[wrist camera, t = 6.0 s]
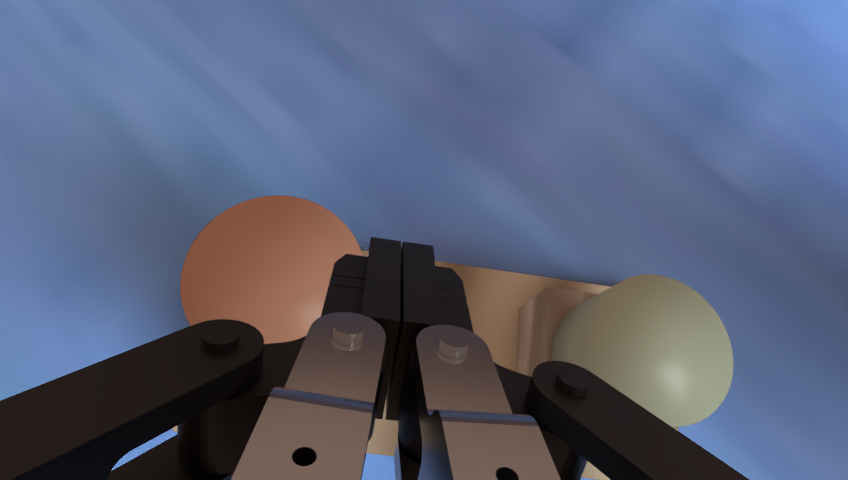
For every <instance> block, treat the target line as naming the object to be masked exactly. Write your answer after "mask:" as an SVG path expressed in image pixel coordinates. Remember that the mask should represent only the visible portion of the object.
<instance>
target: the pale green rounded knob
mask: <svg viewBox="0 0 848 480" xmlns="http://www.w3.org/2000/svg"><path fill="white" fill-rule="evenodd" d="M552 361H563V362H568V363H572V364H575V365H578V366H580V367H582V368H584V369H587V370H588V371H590V372H592V373H593V374H595V375H596V376H598V377H599V378H601V379H602V380H603V381H605V382H606V383H608V384H609V385H611V386H612V387H614V388H615V389H617V390H618V391H620V392H621V393H623V394H624V395H626V396H627V397H628V398H630V399H631V400H633V401H634V402H636V403H637V404H639V405H640V406H642V407H643V408H645V409H646V410H648V411H649V412H651V413H652V414H653V415H655V416H656V417H658V418H659V419H661V420H662V421H664V422H665V423H667V424H668V425H670V426H671V427H679V426H687V425H691V424H695V423H697V422H699V421H702V420H704V419H705V418H707V417H708V416H710V415H711V414H712V413H713V412H714V411H715V410H716V409H717V408H718V407H719V406H720V405H721V403H722V402H723V400H724V399H725V397H726V395H727V393H728V390H729V388H730V385H731V381H732V376H733V353H732V347H731V343H730V340H729V336H728V334H727V331H726V329H725V327H724V325H723V323H722V321H721V319H720V318H719V316H718V315H717V313H716V312H715V310H714V309H713V308H712V306H711V305H710V304H709V303H708V302H707V301H706V300H705V299H704V298H703V297H702V296H701V295H700V294H698V293H697V292H696V291H695V290H693V289H692V288H690V287H689V286H687V285H685V284H683V283H681V282H679V281H677V280H675V279H672V278H669V277H665V276H660V275H639V276H634V277H630V278H628V279H625V280H623V281H621V282H619V283H617V284H616V285H614V286H612V287H610V288H608V289H607V290H605V291H603V292H601V293H600V294H598V295H596V296H594V297H592V298H591V299H589V300H587V301H585V302H584V303H582V304H580V305H578V306H576V307H575V308H574V309H572V310H571V311H570V312H569V313H568V314H567V315H566V316H565V317H564V318H563V320H562V321H561V322H560V324H559V326H558V328H557V330H556V333H555V336H554V340H553V344H552Z"/></svg>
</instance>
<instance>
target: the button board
mask: <svg viewBox="0 0 848 480" xmlns="http://www.w3.org/2000/svg"><path fill="white" fill-rule="evenodd" d="M361 252H362V255H363V256H366V257H368V254H369V251H365V250H361ZM435 266H439V267H446V268H452V269H453V270H454V271H455V272H456V273H457V275H458V276H459V277H460V278H461V279H462V281H463V285H464V290H465V295H466V299H467V304H468V309H469V313H470V318H471V323H472V327H473V332H474V334H476V335H477V336H479V337H480V338H481V339H482V340H483V341H484V342H485V343H486V344H487V346H488V348H489V350H490V353H491V356H492V359H493V361H494V362H495V363H496V364H498V365H500V366H502V367H504V368H507V369H509V370H512V371H515V372H518V373H521V374H524V375H527V376H530V377H532V374H533V371H534V369H535V367H536V366H537V365H539V364H541V363H543V362H547V361H552V344H553V340H554V336H555V333H556V330H557V328H558V326H559V324H560V322H561V321H562V320H563V318H564V317H565V316H566V315H567V314H568V313H569V312H570V311H571V310H572V309H574V308H575V307H576V306H578V305H580V304H582V303H584V302H585V301H587V300H589V299H591V298H592V297H594V296H596V295H598V294H600V293H601V292H603V291H605V290H607V289H608V288H610V286H603V285H596V284H589V283H582V282H576V281H569V280H562V279H555V278H549V277H542V276H535V275H528V274H521V273H515V272H508V271H501V270H494V269H487V268H481V267H474V266H467V265H460V264H454V263H447V262H440V261H435ZM386 397H387V396H386ZM673 428H674V429H676V430H677V431H678V432H679V430H678V427H673ZM172 431H177V426H175V427H173V430H172ZM397 433H398V421H394V420H386V401H385V407H384V412H383V418H382V419H375V425H374V431H373V435H372V437H371V439H370V440H369V442H368V446H367V451H366V453H371V454H380V455H389V456H394V448H395V443H396V438H397ZM581 478H590V479H599V480H610V479H609V478H608V477H607V476H606V475H604V474H603V473H602V472H601V471H599V470H598V469H597V468H596V467H594V466H593V465H592V464H591V463H590V462H588V461H587V464H586V466H585V469H584V471H583V474H582V476H581Z"/></svg>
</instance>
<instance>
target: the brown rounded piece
mask: <svg viewBox="0 0 848 480" xmlns="http://www.w3.org/2000/svg"><path fill="white" fill-rule="evenodd" d="M345 254H352V255H359V256H363V255H362V252H361V249H360V247H359V244H358V242H357V240H356V238H355V237H354V235H353V234H352V232H351V231H350V229H349V228H348V227H347V226H346V225H345V224H344V222H343V221H342V220H341V219H339V218H338V217H337V216H336V215H335V214H334V213H332V212H331V211H329V210H327V209H326V208H324V207H322V206H320V205H318V204H316V203H314V202H311V201H308V200H305V199H302V198H297V197H291V196H266V197H259V198H255V199H251V200H247V201H245V202H242V203H239V204H237V205H235V206H233V207H231V208H229V209H227V210H225V211H224V212H223V213H221V214H220V215H218V216H217V217H216V218H214V219H213V220H212V221H211V222H210V223H209V224H208V225H207V226H206V227H205V228H204V229H203V230H202V231H201V232H200V233H199V235H198V236H197V238H196V239H195V241H194V242H193V244H192V246H191V248H190V250H189V252H188V253H187V256H186V259H185V262H184V265H183V269H182V274H181V285H180V290H181V301H182V305H183V309H184V312H185V315H186V318H187V320H188V322H189V324H190V326H192V325H195V324H197V323H200V322H204V321H209V320H216V319H231V320H238V321H242V322H245V323H248V324H250V325H252V326H254V327H255V328H256V329H258V330H259V331H260V333H261V334H262V336H263V338H264V344H270V343H282V342H289V341H293V340H297V339H300V338H302V337H304V336H306V335H307V333H308V331H309V328H310V326H311V325H312V323H313V322H314V321H315V320H316V319H318V318H319V317H321V313H322V309H323V306H324V302H325V298H326V294H327V290H328V286H329V282H330V278H331V275H332V271H333V267H334V263H335V262H336V261H337V260H338V259H340V258H341V257H342V256H344V255H345Z"/></svg>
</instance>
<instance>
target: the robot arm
mask: <svg viewBox="0 0 848 480" xmlns="http://www.w3.org/2000/svg"><path fill="white" fill-rule="evenodd" d="M386 396H387V397H386ZM385 401H386V420H394V421H398V433H397V438H396V443H395V448H394V465H395V478H396V480H580V479H581V476H582V474H583V471H584V469H585V466H586V464H587V461H588V462H590V463H591V464H592V465H593V466H594V467H596V468H597V469H598V470H599V471H601V472H602V473H603V474H604V475H606V476H607V477H608V478H609V479H610V480H749V479H748V478H746V477H745V476H743V475H742V474H740V473H739V472H737V471H736V470H734V469H733V468H731V467H730V466H728V465H727V464H725V463H724V462H723V461H721V460H720V459H718V458H717V457H715V456H714V455H712V454H711V453H709V452H708V451H706V450H705V449H703V448H702V447H701V446H699V445H698V444H696V443H695V442H693V441H692V440H690V439H689V438H687V437H686V436H684V435H683V434H681V433H680V432H678V431H677V430H676V429H674V428H673V427H671V426H670V425H668V424H667V423H665V422H664V421H662V420H661V419H659V418H658V417H656V416H655V415H653V414H652V413H651V412H649V411H648V410H646V409H645V408H643V407H642V406H640V405H639V404H637V403H636V402H634V401H633V400H631V399H630V398H628V397H627V396H626V395H624V394H623V393H621V392H620V391H618V390H617V389H615V388H614V387H612V386H611V385H609V384H608V383H606V382H605V381H603V380H602V379H601V378H599V377H598V376H596V375H595V374H593V373H592V372H590V371H588V370H587V369H584V368H582V367H580V366H578V365H575V364H572V363H568V362H563V361H547V362H543V363H541V364H539V365H537V366H536V367H535V369H534V371H533V374H532V377H530V376H527V375H524V374H521V373H518V372H515V371H512V370H509V369H507V368H504V367H502V366H500V365H498V364H496V363H495V362H494V361H493V359H492V356H491V353H490V350H489V348H488V346H487V344H486V343H485V342H484V341H483V340H482V339H481V338H480V337H479V336H477V335H476V334H474V332H473V327H472V323H471V318H470V313H469V309H468V304H467V299H466V295H465V290H464V285H463V281H462V279H461V278H460V277H459V276H458V275H457V273H456V272H455V271H454V270H453V269H452V268H446V267H439V266H435V259H434V251H433V246H430V245H423V244H416V243H409V242H403V243H402V247H401V241H395V240H388V239H381V238H374V237H371V241H370V247H369V254H368V257H366V256H359V255H352V254H345V255H344V256H342V257H341V258H340V259H338V260H337V261H336V262H335V263H334V267H333V271H332V275H331V278H330V282H329V286H328V290H327V294H326V298H325V302H324V306H323V309H322V313H321V317H319V318H318V319H316V320H315V321H314V322H313V323H312V325H311V326H310V328H309V331H308V333H307V335H306V336H304V337H302V338H300V339H297V340H293V341H289V342H282V343H270V344H264V338H263V336H262V334H261V333H260V331H259V330H258V329H256V328H255V327H254V326H252V325H250V324H248V323H245V322H242V321H238V320H231V319H216V320H209V321H204V322H200V323H197V324H195V325H192V326H190V327H187V328H184V329H182V330H179V331H177V332H174V333H172V334H169V335H167V336H164V337H162V338H159V339H156V340H154V341H151V342H149V343H146V344H144V345H141V346H139V347H136V348H134V349H131V350H128V351H126V352H123V353H121V354H118V355H116V356H113V357H111V358H108V359H106V360H103V361H101V362H98V363H95V364H93V365H90V366H88V367H85V368H83V369H80V370H78V371H75V372H73V373H70V374H67V375H65V376H62V377H60V378H57V379H55V380H52V381H50V382H47V383H45V384H42V385H39V386H37V387H34V388H32V389H29V390H27V391H24V392H22V393H19V394H17V395H14V396H11V397H9V398H6V399H4V400H1V401H0V480H361V479H362V474H363V468H364V463H365V457H366V451H367V446H368V442H369V440H370V439H371V437H372V435H373V431H374V425H375V419H382V418H383V412H384V407H385ZM175 426H177V431H178V434H177V435H176V436H174V437H172V438H170V439H168V440H167V441H165V442H163V443H161V444H159V445H158V446H156V447H154V448H152V449H150V450H149V451H147V452H145V453H143V454H141V455H139V456H138V457H136V458H134V459H132V460H130V461H129V462H127V463H125V464H123V465H121V466H120V467H118V468H116V469H114V470H112V468H113V467H114V465H115V464H116V463H117V462H118V461H119V460H120V459H121V458H122V457H123V456H124V455H125V454H127V453H128V452H129V451H131V450H133V449H135V448H136V447H138V446H140V445H142V444H144V443H146V442H147V441H149V440H151V439H153V438H155V437H157V436H159V435H160V434H162V433H164V432H166V431H168V430H170V429H172V428H173V427H175ZM111 470H112V471H111ZM110 471H111V472H110Z"/></svg>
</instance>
